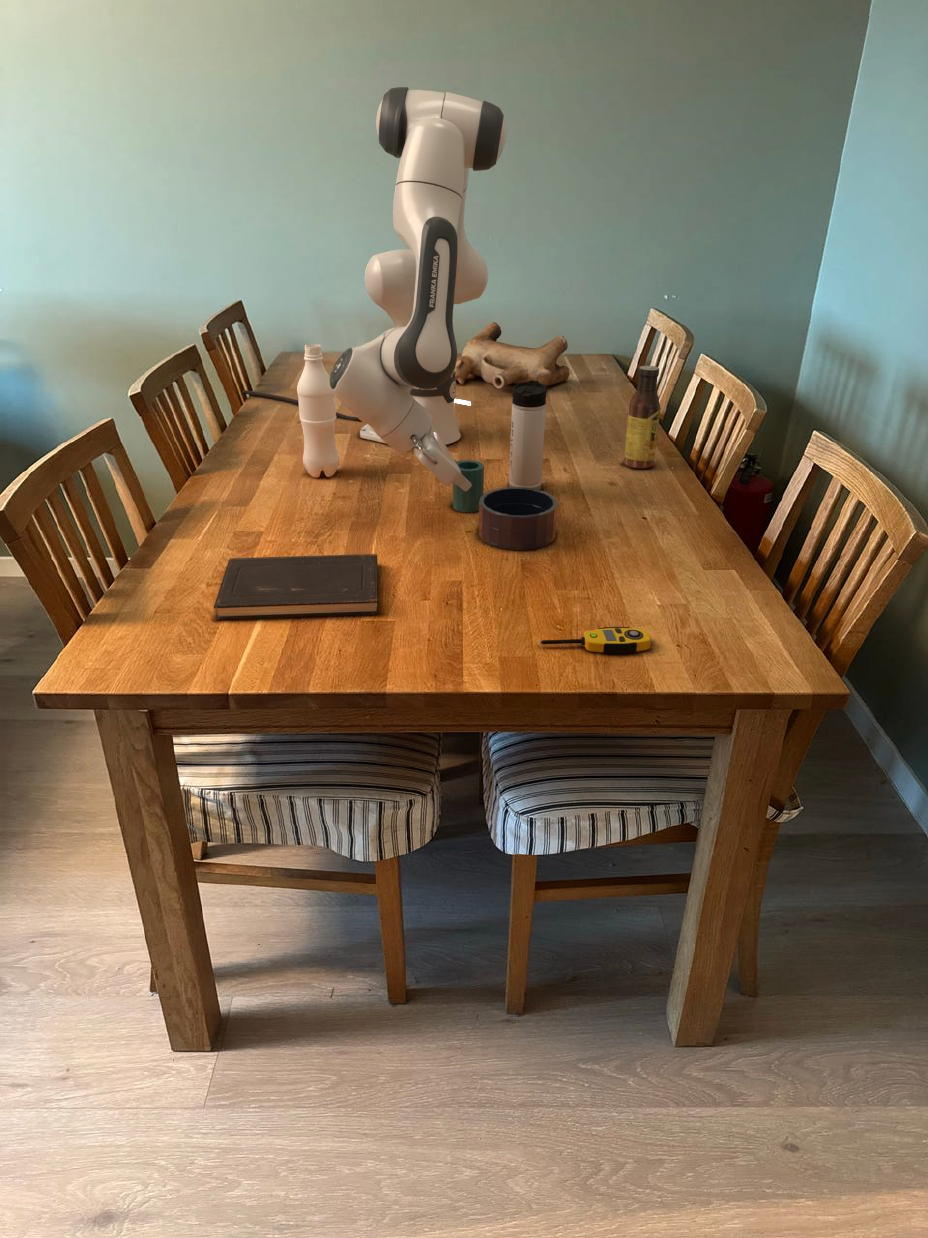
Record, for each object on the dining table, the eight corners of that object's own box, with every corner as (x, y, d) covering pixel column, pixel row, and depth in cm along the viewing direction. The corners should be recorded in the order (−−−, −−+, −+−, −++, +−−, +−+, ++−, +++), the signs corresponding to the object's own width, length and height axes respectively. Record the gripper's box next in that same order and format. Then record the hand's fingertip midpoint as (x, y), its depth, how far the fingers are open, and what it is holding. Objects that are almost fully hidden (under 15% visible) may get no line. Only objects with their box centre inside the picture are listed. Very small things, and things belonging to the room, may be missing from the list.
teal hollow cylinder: (448, 510, 160) (448, 468, 156) (459, 499, 164) (459, 458, 160) (476, 514, 158) (477, 472, 154) (487, 503, 163) (488, 462, 159)
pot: (467, 542, 148) (468, 509, 145) (493, 513, 159) (494, 482, 156) (543, 555, 144) (545, 522, 141) (563, 525, 155) (566, 493, 152)
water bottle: (346, 470, 177) (339, 343, 164) (327, 482, 171) (318, 351, 159) (316, 464, 179) (307, 339, 167) (296, 476, 174) (285, 347, 161)
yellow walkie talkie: (654, 641, 117) (543, 644, 116) (653, 653, 118) (542, 656, 117) (645, 623, 121) (538, 625, 120) (644, 635, 122) (537, 637, 121)
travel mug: (545, 483, 172) (551, 381, 162) (536, 495, 166) (542, 390, 156) (514, 479, 173) (518, 378, 163) (504, 491, 168) (508, 387, 158)
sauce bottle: (653, 471, 178) (665, 373, 168) (622, 468, 179) (632, 371, 169) (653, 460, 184) (665, 364, 174) (623, 458, 185) (633, 362, 175)
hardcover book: (378, 614, 127) (377, 600, 125) (215, 620, 125) (213, 606, 124) (377, 565, 140) (377, 552, 139) (231, 569, 139) (229, 556, 137)
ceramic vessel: (483, 312, 243) (427, 339, 227) (579, 337, 229) (527, 368, 213) (482, 357, 251) (428, 386, 235) (575, 384, 237) (524, 417, 221)
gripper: (431, 433, 142) (488, 486, 149) (411, 398, 159) (463, 446, 166) (404, 461, 143) (462, 512, 150) (387, 423, 161) (440, 470, 167)
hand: (462, 477), depth 158 cm, fingers open, 8 cm apart
